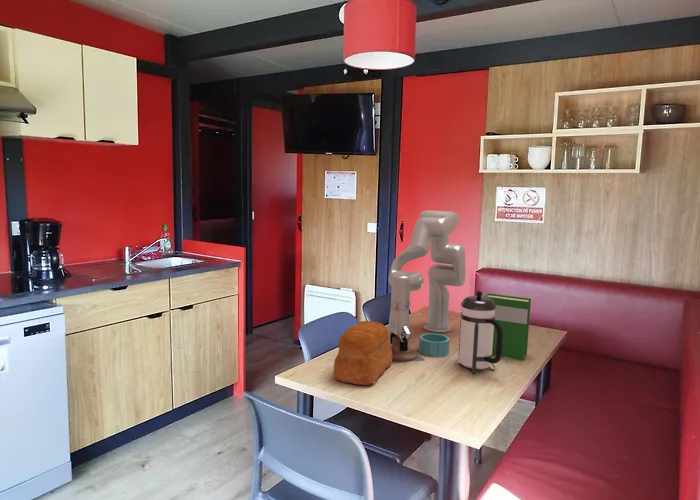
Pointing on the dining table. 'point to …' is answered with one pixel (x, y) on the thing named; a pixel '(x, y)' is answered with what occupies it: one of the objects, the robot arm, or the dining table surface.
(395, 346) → the lid
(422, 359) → the mat
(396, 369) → the dining table surface
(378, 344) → the bread
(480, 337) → the coffee press
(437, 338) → the bowl
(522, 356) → the hardback book
